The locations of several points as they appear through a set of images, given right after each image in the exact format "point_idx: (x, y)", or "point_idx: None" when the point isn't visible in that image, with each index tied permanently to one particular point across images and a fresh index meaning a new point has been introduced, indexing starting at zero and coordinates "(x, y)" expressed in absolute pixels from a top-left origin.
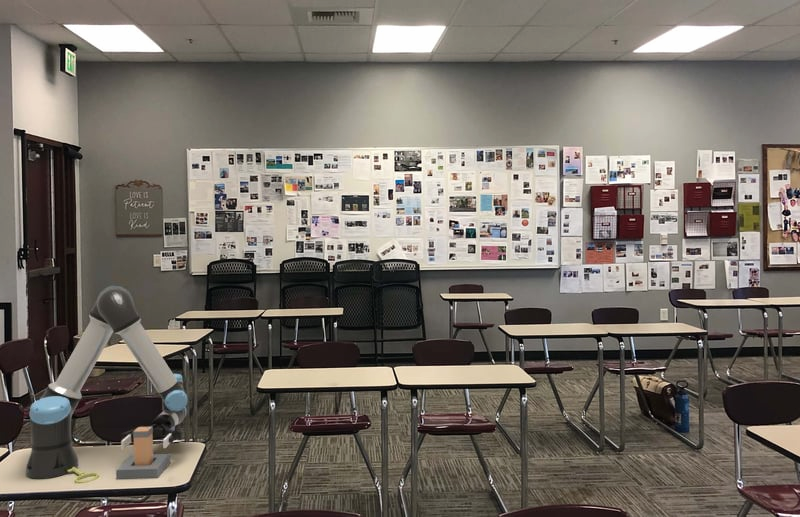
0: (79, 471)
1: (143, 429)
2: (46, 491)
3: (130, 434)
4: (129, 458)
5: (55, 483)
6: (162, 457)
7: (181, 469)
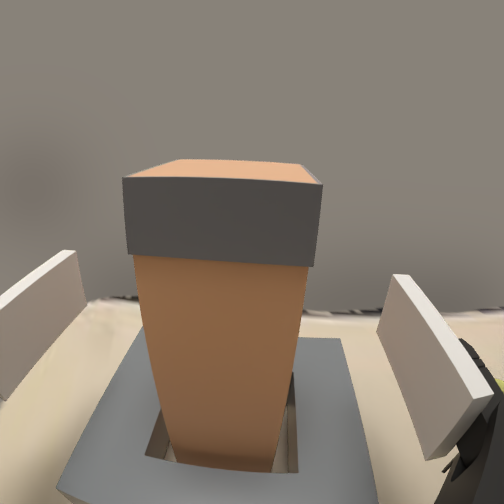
0: (501, 381)
1: (223, 165)
2: (470, 313)
3: (493, 422)
4: (360, 470)
5: (497, 344)
6: (108, 445)
7: (47, 399)
